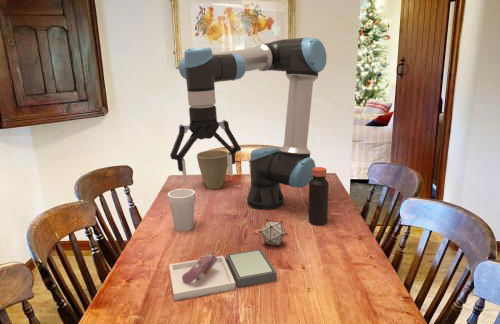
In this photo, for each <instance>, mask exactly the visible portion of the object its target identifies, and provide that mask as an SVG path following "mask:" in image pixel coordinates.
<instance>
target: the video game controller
mask: <svg viewBox="0 0 500 324" xmlns="http://www.w3.org/2000/svg"><path fill="white" fill-rule="evenodd" d="M216 257H217V256H215V255H213V254H211V253H209V254H208V255H205V256H202V257H200V258H199V259H197V260H198V262H197V263H196V264H195V265H194V266H193V267H192V268H191V269H190V270H189V271H188V272H187V273H185V274H184V275H183V276H182V280H183V281H184V282H187V283H189V282H192V281H193V280H195V279H197V280H200V279H201V277H202V276H203V273H204V274H205V275H206V274H207V273H209V270H210V269H211V268H212V266H213V265H214V264H215V263H216V261H217V258H216Z"/></svg>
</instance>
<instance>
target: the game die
mask: <svg viewBox="0 0 500 324" xmlns="http://www.w3.org/2000/svg"><path fill="white" fill-rule="evenodd" d="M282 223H283V220H281V221H280V222H278V221H269V219H268V218H266V224H265V225H264V227H263V228H262V230H261V231H260V230H259V231H258V233H260V234H261V235H262V238H263V240H264V246H265V245H267V244H268V245H269V244H270V245H275V246H276V245H277V246H278V248H281V243H282V241H283V239H284V238H285V236H288V233H287V232H285V229H284V227H283V224H282Z"/></svg>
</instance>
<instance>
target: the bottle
mask: <svg viewBox="0 0 500 324" xmlns="http://www.w3.org/2000/svg"><path fill="white" fill-rule="evenodd" d="M312 176H313V178H312V180H311V181H310V182H309V184H308V222H309V224H311V225H314V226H324V225H326V224H328V220H329V219H328V215H329V214H328V213H329V211H328V210H329V189H330V188H329V187H330V184H329V181H328V180H327V179H326V177H327V168H326V167H323V166H317V167H316V166H315V167H314V168H312Z"/></svg>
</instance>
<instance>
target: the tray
mask: <svg viewBox="0 0 500 324" xmlns="http://www.w3.org/2000/svg"><path fill="white" fill-rule="evenodd" d="M215 257H216V258H217V261H216V263H215V264H214V265H213V266H212V268H211V269H210V270H209V273H207V274H206V275H205V274H204V273H203V276H202V277H201V279H200V280H197V279H195V280H193V281H192V282H189V283H187V282H184V281H183V280H182V276H183V275H184V274H185V273H187V272H188V271H189V270H190V269H191V268H192V267H193V266H194V265H195V264H196V263H197V262H198V260H199V259H195V260H194V259H193V260H187V261H182V262H176V263H170V264H168V267H169V275H170V281H171V287H172V288H171V289H172V294H173V302H176V301H177V302H178V301H182V300H188V299H192V298H197V297H202V296H208V295H213V294H218V293H224V292H229V291H235V290H236V288H237V286H236V282H235V280H234V278H233V275H232V273H231V271H230V269H229V266H228V264H227V261H226V259H225V257H224V255H219V256H215Z"/></svg>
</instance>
